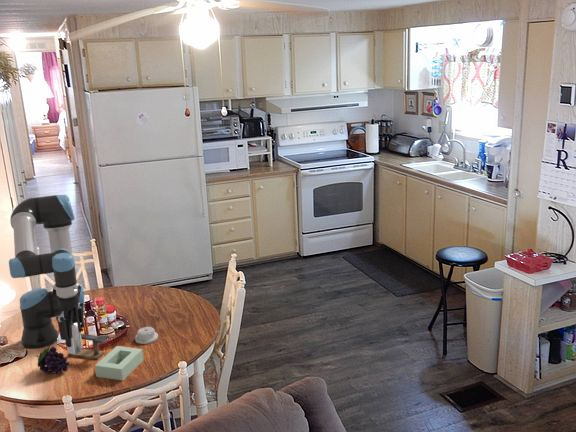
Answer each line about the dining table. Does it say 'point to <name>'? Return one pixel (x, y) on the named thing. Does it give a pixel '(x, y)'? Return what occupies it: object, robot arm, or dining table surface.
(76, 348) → the grey upright peg
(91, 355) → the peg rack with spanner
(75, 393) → the dining table surface
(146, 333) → the mechanical component
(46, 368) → the fruit
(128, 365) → the slot block
